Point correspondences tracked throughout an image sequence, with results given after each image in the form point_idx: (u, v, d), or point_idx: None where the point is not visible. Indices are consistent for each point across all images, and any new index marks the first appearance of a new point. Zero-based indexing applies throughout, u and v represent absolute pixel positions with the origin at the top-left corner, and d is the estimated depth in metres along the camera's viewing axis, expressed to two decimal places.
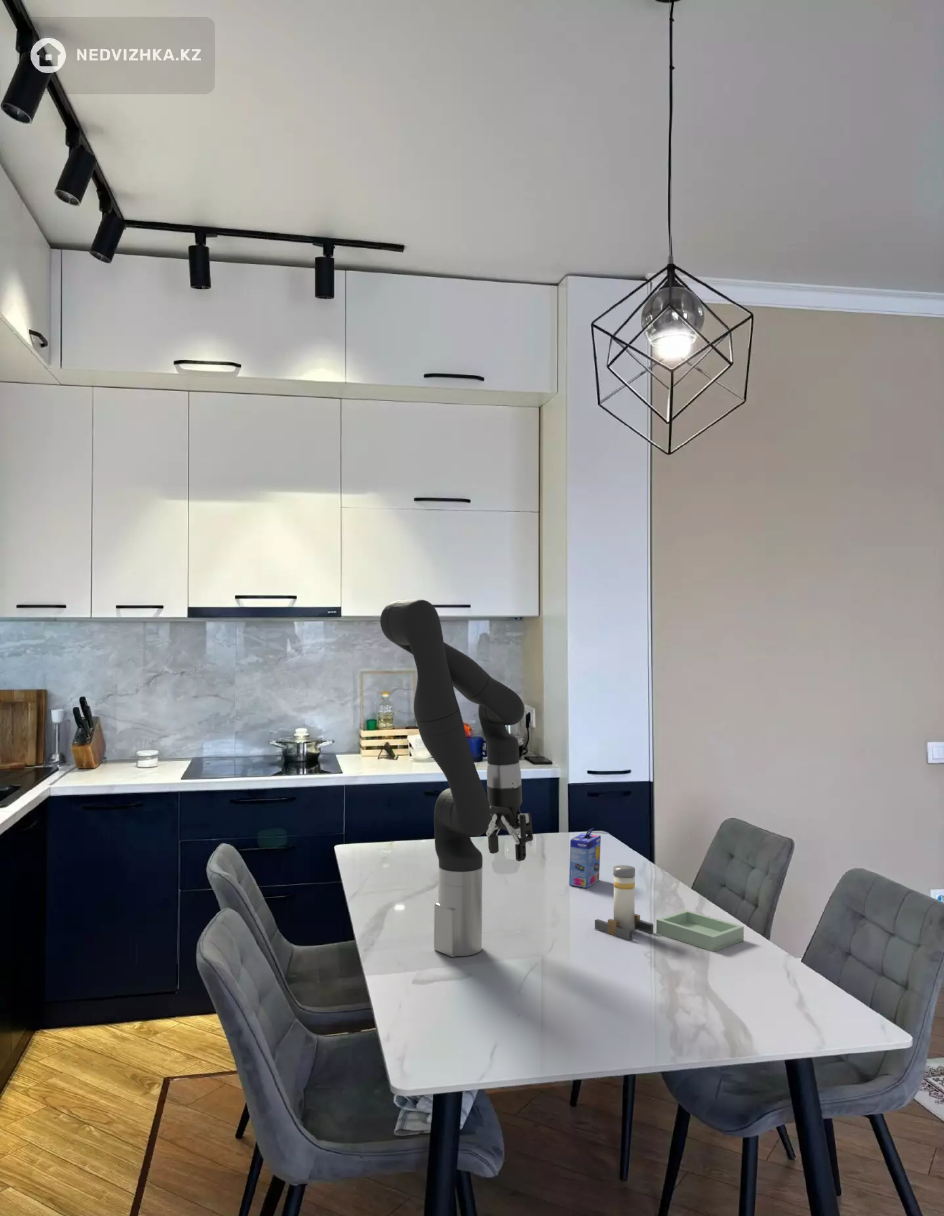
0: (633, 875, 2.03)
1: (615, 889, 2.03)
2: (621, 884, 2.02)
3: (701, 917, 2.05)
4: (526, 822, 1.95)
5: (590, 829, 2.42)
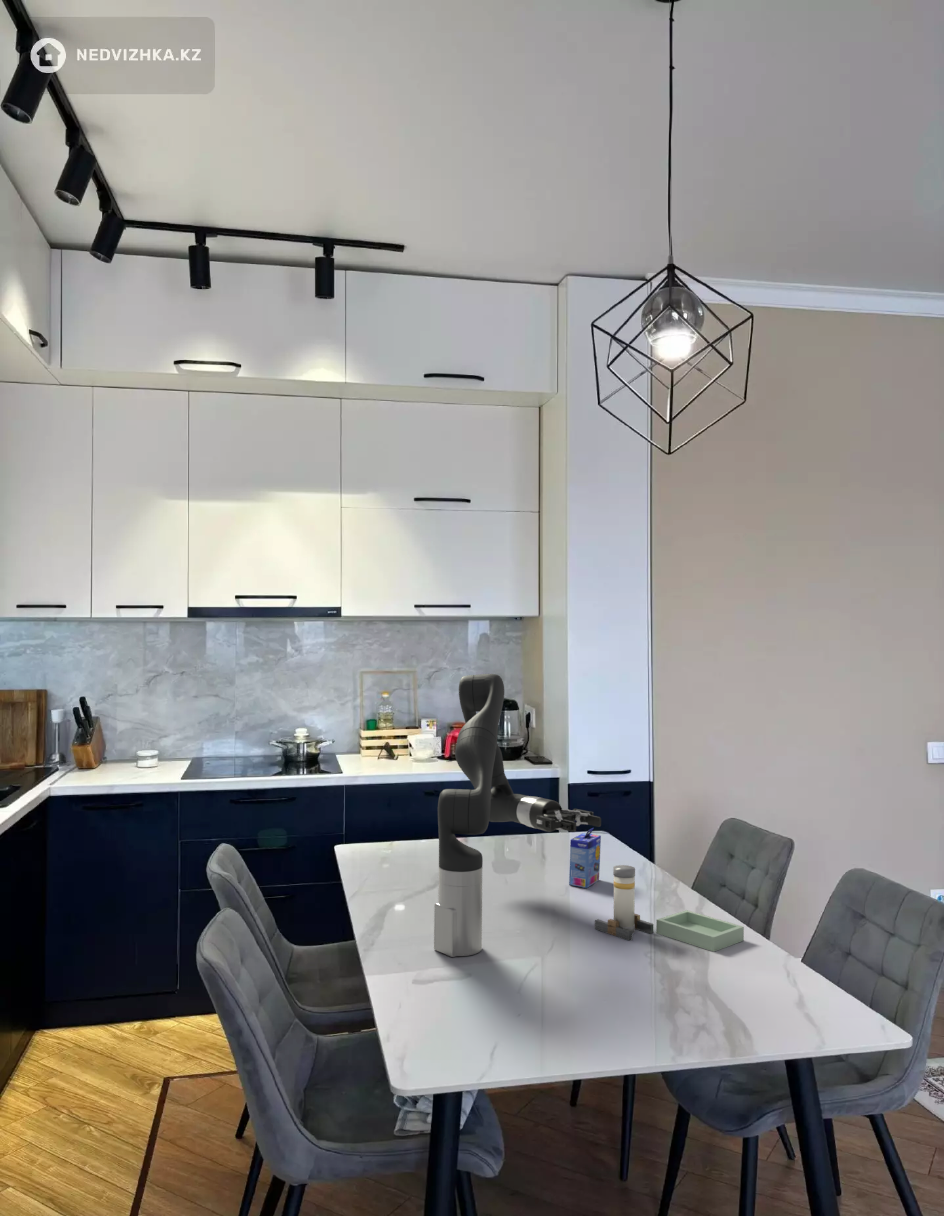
0: (633, 875, 2.03)
1: (615, 889, 2.03)
2: (621, 884, 2.02)
3: (701, 917, 2.05)
4: None
5: (590, 829, 2.41)
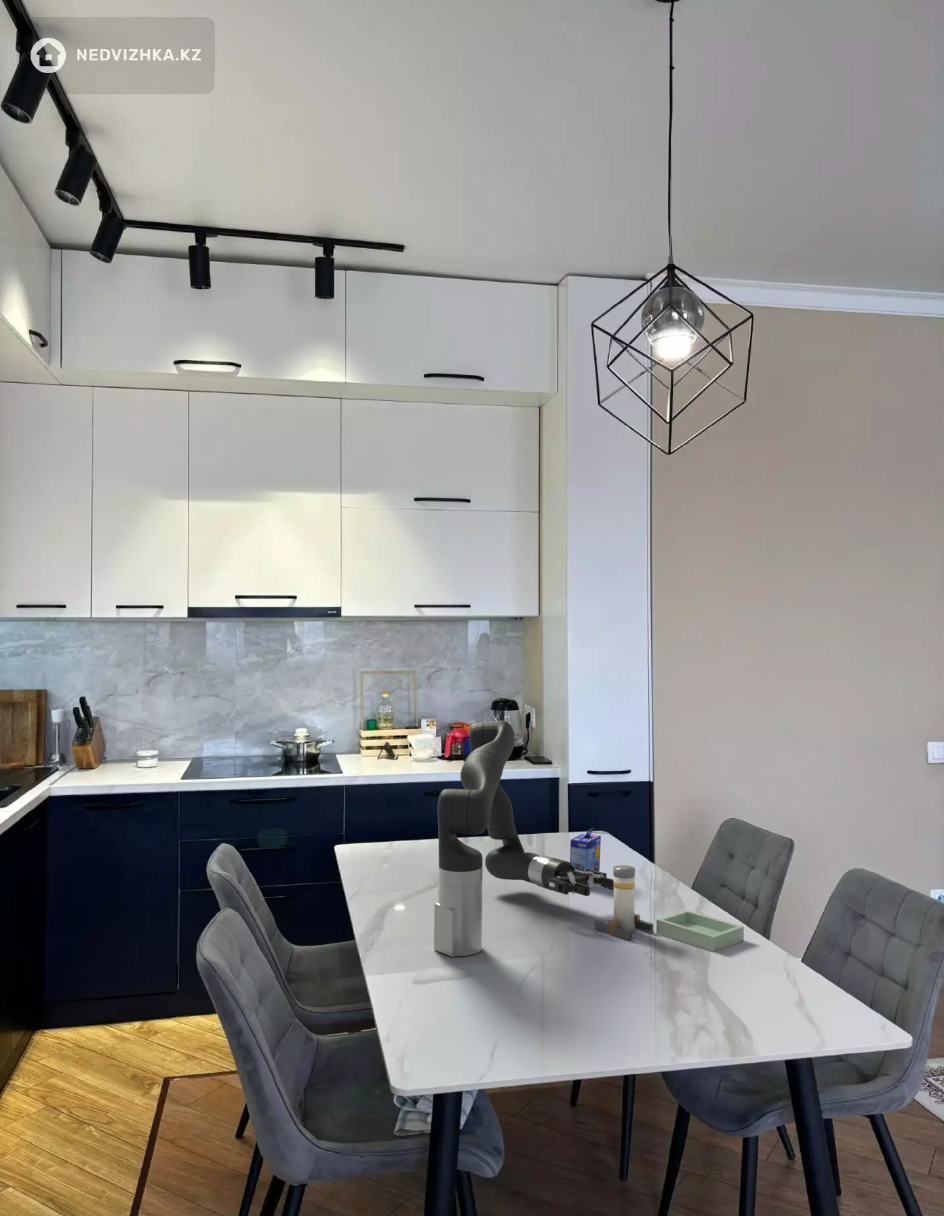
0: (633, 875, 2.03)
1: (615, 889, 2.03)
2: (621, 884, 2.02)
3: (701, 917, 2.05)
4: None
5: (590, 829, 2.41)
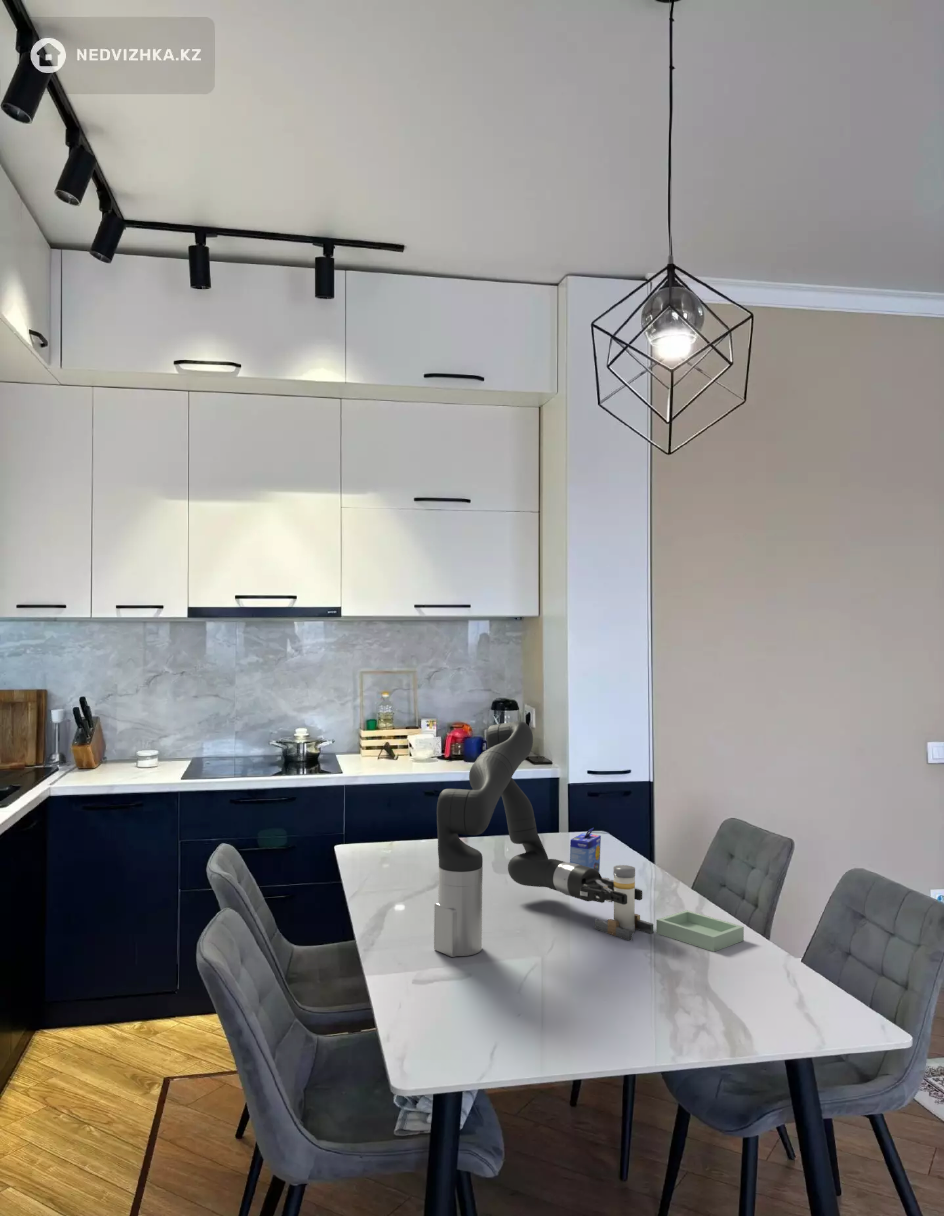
0: (633, 875, 2.03)
1: (615, 889, 2.03)
2: (621, 884, 2.02)
3: (701, 917, 2.05)
4: None
5: (590, 829, 2.42)
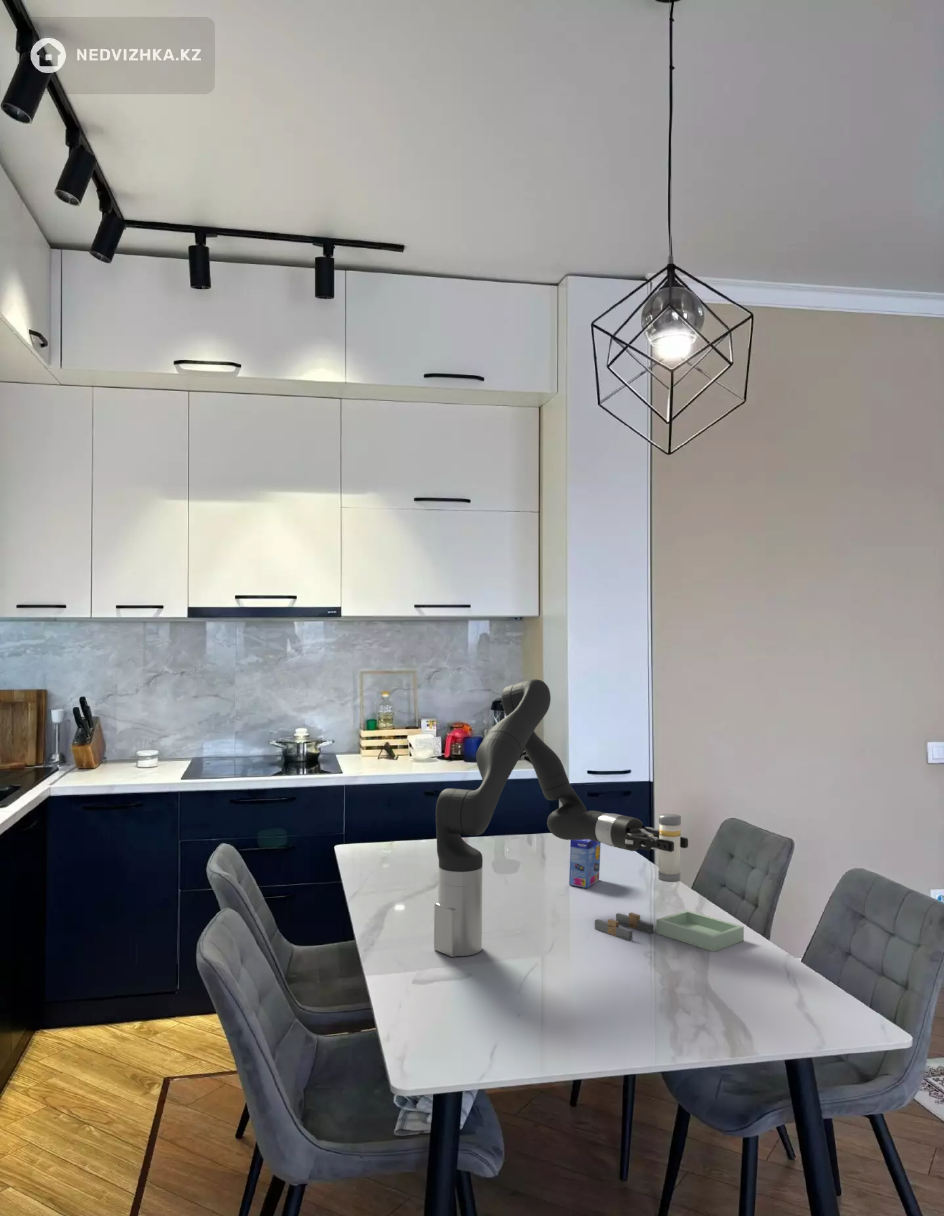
0: (679, 823, 2.02)
1: (661, 837, 2.02)
2: (668, 831, 2.01)
3: (701, 917, 2.05)
4: None
5: None
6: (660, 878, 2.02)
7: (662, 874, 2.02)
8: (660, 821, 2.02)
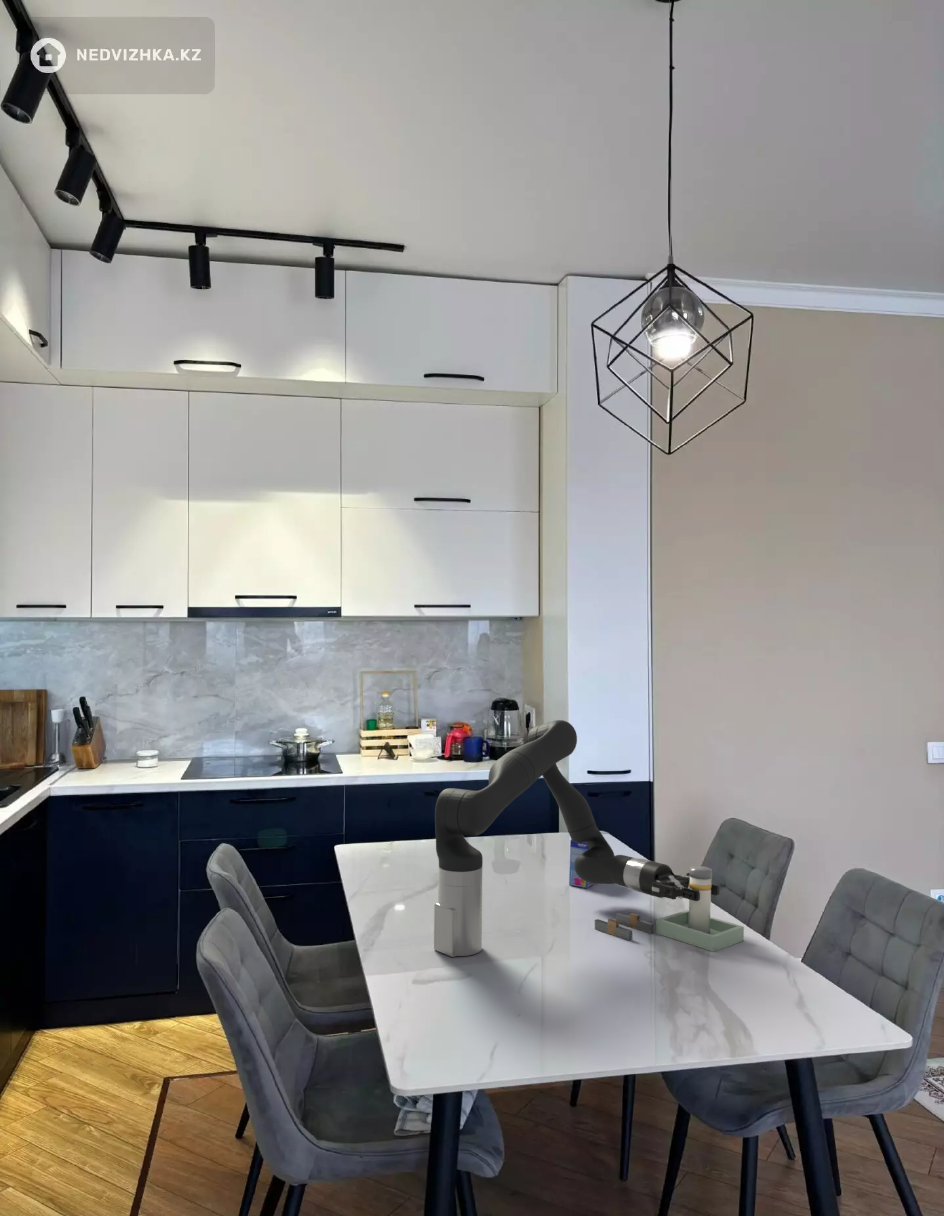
0: (710, 876, 1.99)
1: None
2: (698, 885, 1.98)
3: None
4: None
5: None
6: None
7: (691, 928, 1.99)
8: (691, 874, 2.00)
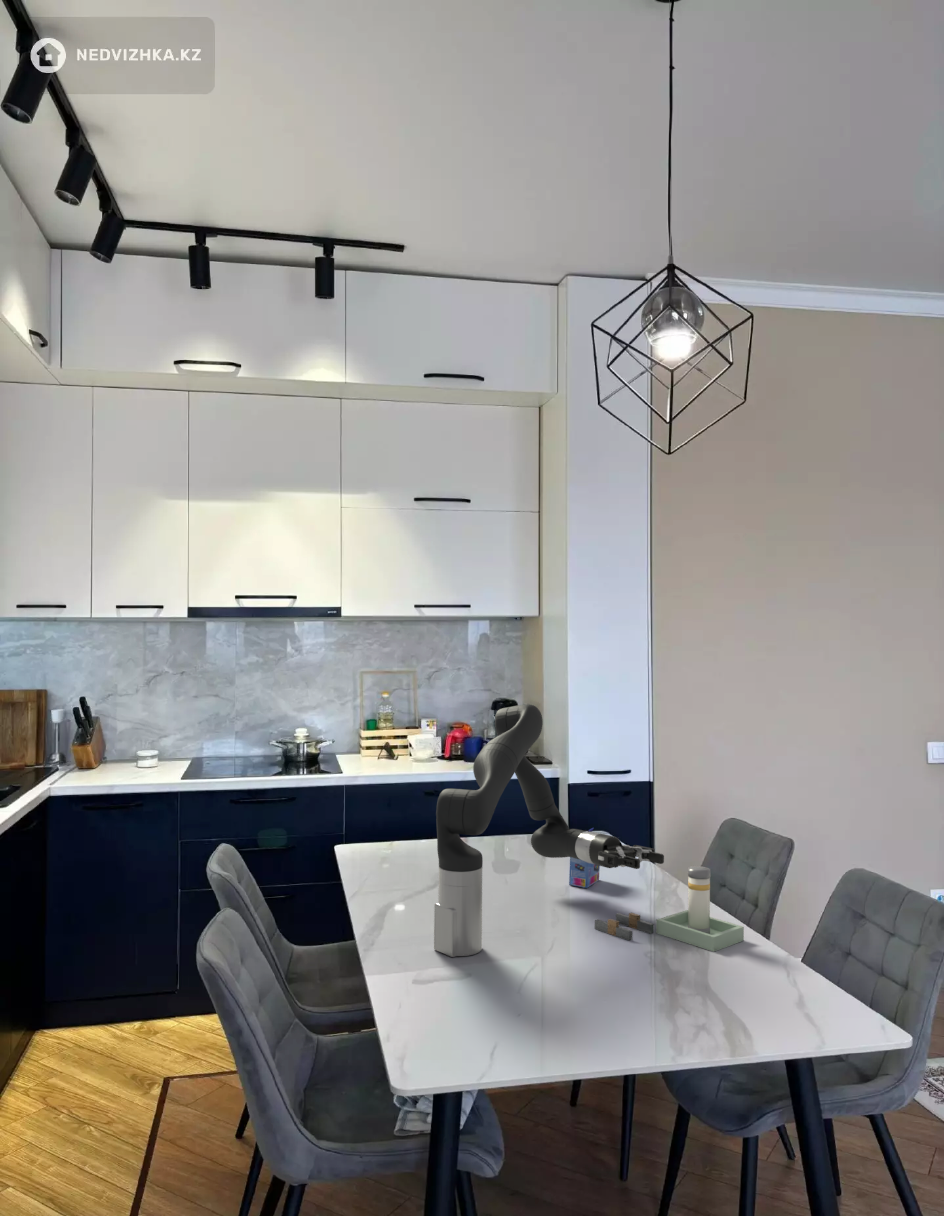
0: (709, 876, 1.99)
1: (690, 890, 2.00)
2: (697, 885, 1.98)
3: None
4: None
5: (590, 829, 2.41)
6: None
7: None
8: (689, 874, 2.00)
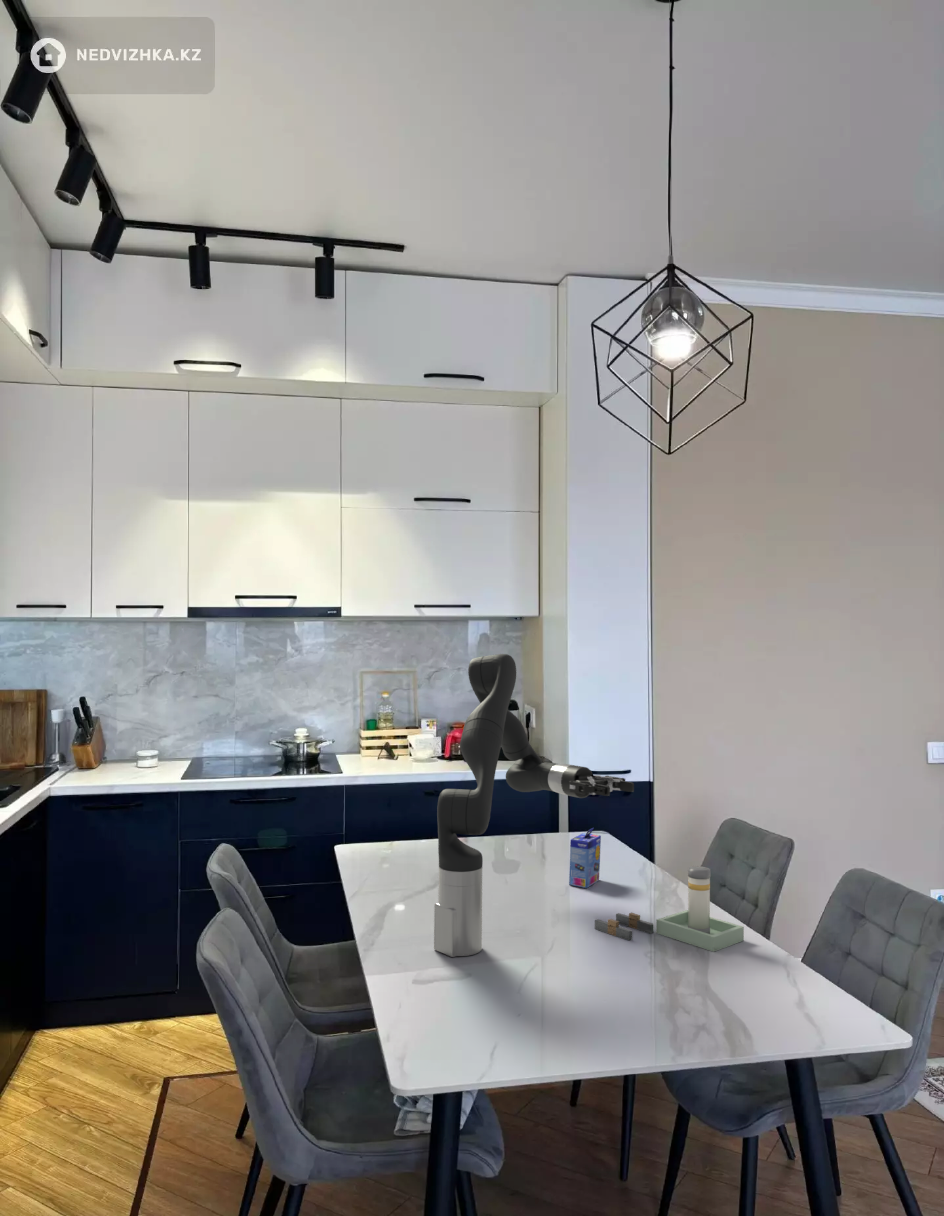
0: (709, 876, 1.99)
1: (690, 890, 2.00)
2: (697, 885, 1.98)
3: None
4: None
5: (590, 829, 2.41)
6: None
7: None
8: (689, 874, 2.00)
